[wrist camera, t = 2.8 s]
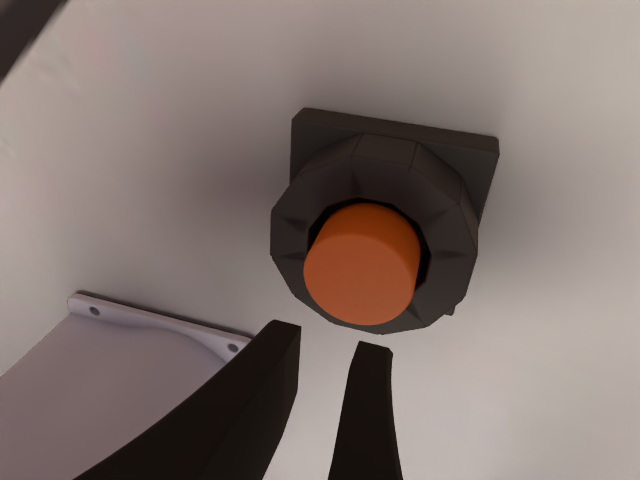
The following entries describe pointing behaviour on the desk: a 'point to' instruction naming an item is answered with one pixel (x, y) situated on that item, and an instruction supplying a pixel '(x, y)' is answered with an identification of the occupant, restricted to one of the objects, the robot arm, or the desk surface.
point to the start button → (363, 264)
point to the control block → (387, 201)
